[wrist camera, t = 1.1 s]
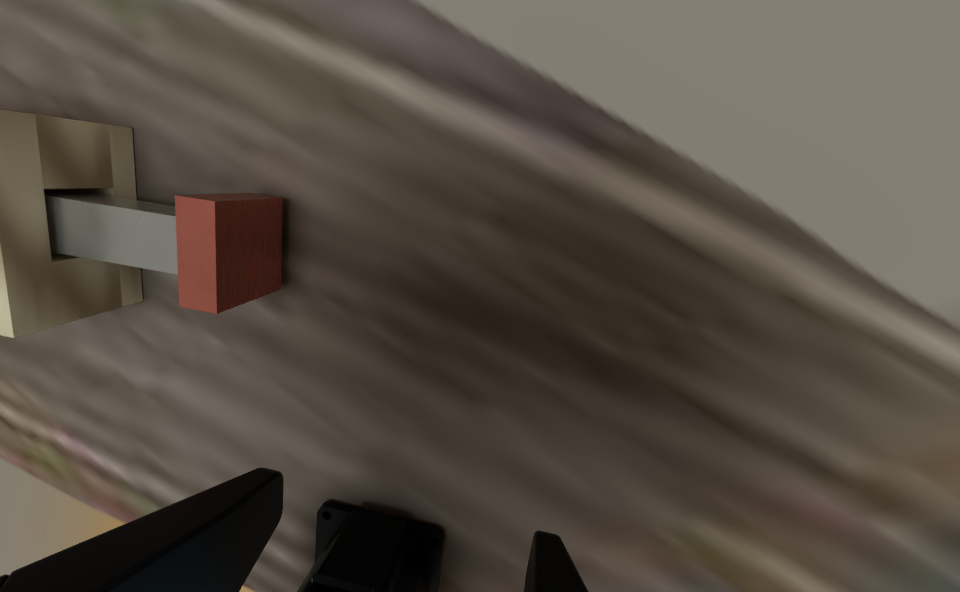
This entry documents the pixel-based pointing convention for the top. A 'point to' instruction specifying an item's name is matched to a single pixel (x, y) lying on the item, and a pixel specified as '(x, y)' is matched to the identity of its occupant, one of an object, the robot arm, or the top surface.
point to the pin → (178, 240)
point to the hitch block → (24, 229)
